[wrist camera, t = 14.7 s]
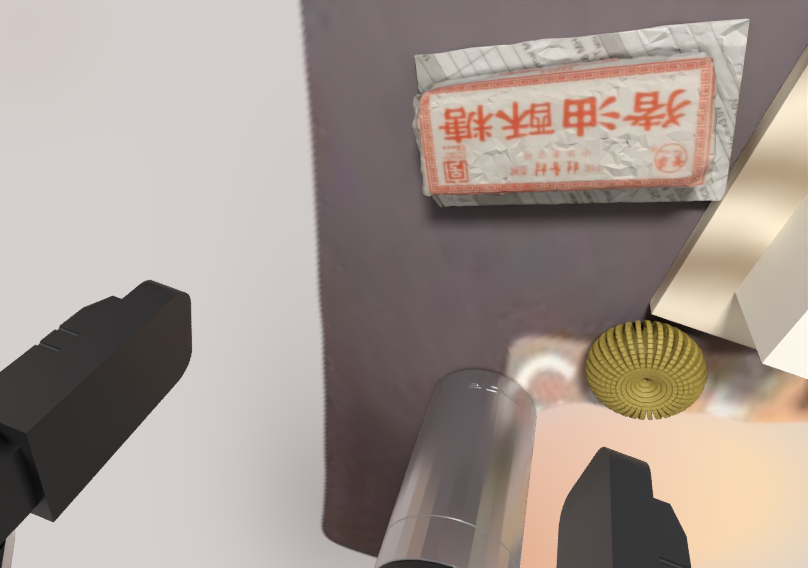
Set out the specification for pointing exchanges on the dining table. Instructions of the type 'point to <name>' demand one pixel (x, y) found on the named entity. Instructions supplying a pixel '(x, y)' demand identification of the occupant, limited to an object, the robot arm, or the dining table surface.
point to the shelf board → (742, 219)
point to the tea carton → (781, 297)
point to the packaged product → (582, 117)
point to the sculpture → (646, 370)
